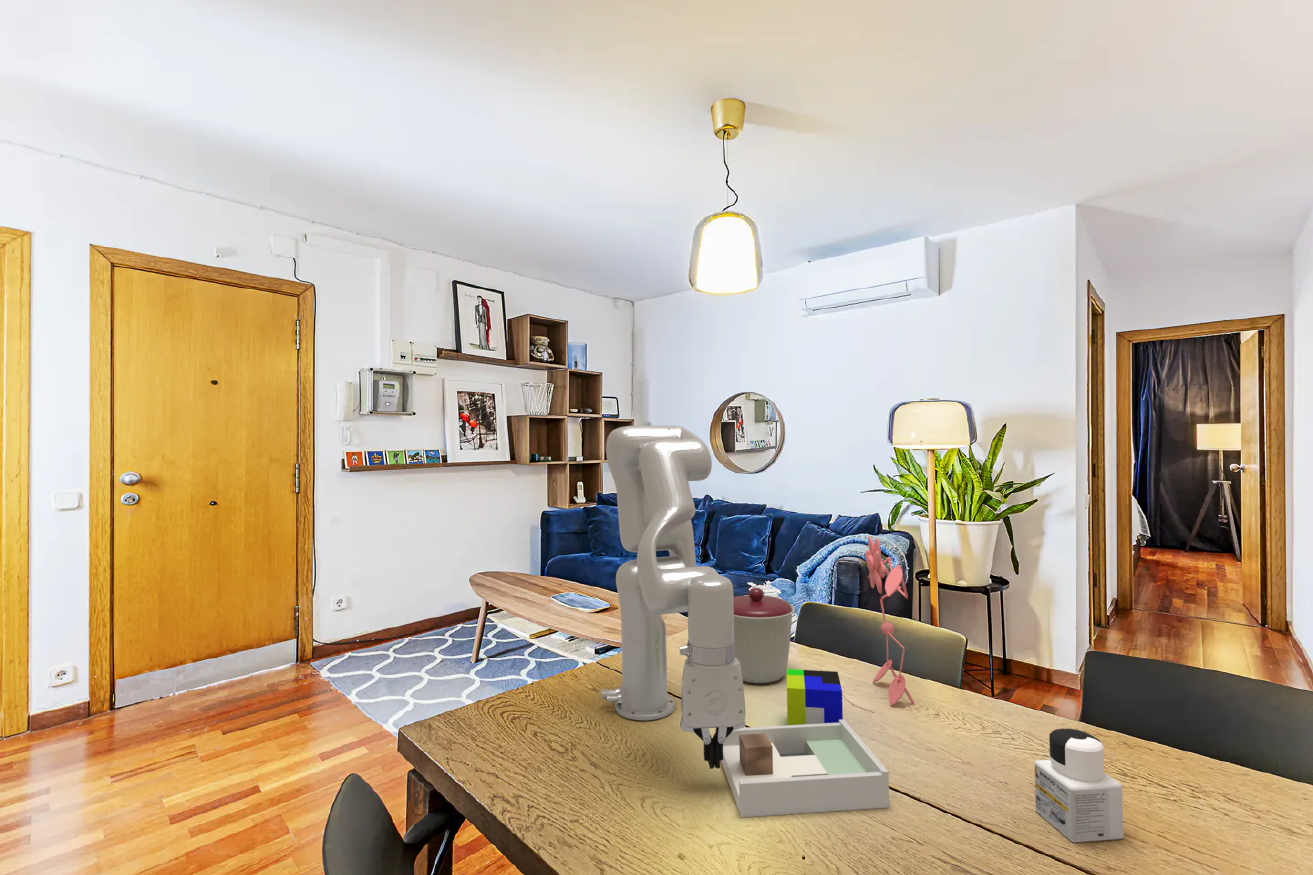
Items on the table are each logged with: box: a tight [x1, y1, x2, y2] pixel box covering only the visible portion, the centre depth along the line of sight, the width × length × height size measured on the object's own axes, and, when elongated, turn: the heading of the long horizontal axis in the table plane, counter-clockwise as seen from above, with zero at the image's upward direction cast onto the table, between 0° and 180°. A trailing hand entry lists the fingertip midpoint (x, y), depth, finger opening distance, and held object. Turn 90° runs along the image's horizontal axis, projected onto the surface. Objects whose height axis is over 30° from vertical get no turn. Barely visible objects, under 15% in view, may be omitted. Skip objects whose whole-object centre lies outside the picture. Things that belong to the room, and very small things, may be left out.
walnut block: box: [739, 733, 773, 776], centre depth 103 cm, size 4×4×4 cm
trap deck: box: [720, 719, 890, 818], centre depth 104 cm, size 23×18×6 cm
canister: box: [733, 587, 796, 685], centre depth 150 cm, size 18×18×21 cm
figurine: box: [842, 535, 915, 714], centre depth 138 cm, size 15×26×35 cm, turn 174°
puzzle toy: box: [786, 668, 844, 725], centre depth 121 cm, size 10×10×10 cm
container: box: [1034, 728, 1124, 843], centre depth 90 cm, size 8×8×13 cm
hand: (713, 764), depth 102 cm, fingers closed
